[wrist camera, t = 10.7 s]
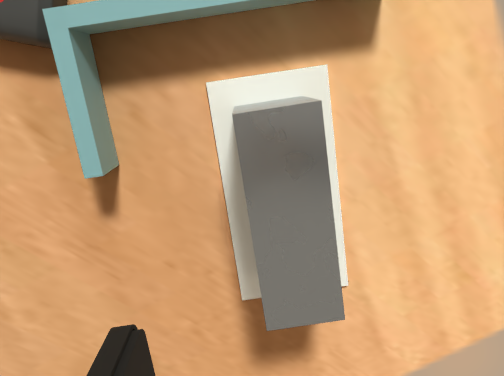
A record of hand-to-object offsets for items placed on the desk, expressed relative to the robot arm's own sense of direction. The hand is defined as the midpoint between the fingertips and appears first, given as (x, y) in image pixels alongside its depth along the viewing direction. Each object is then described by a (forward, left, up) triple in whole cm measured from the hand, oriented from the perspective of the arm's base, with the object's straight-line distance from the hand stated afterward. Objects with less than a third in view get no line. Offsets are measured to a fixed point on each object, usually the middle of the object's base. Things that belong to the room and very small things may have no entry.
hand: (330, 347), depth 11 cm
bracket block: (0, 0, -16) cm, 16 cm away
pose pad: (0, 0, -16) cm, 16 cm away
